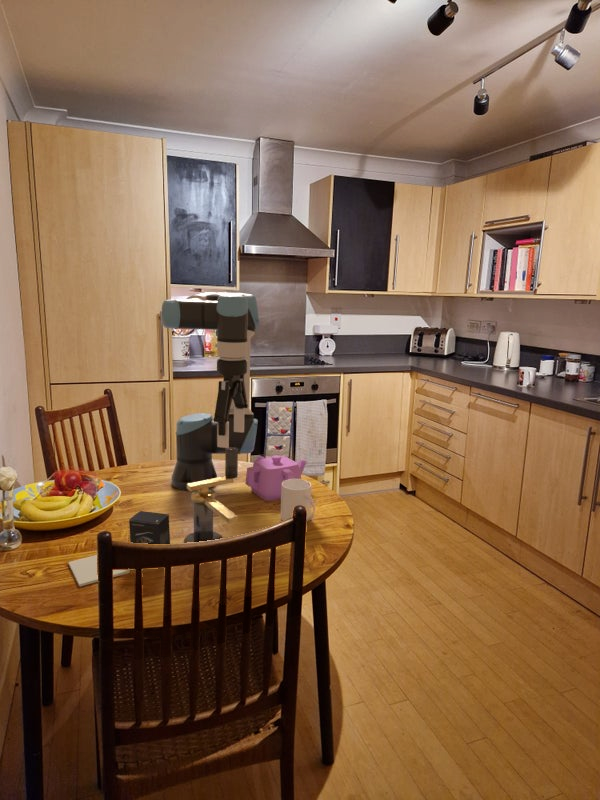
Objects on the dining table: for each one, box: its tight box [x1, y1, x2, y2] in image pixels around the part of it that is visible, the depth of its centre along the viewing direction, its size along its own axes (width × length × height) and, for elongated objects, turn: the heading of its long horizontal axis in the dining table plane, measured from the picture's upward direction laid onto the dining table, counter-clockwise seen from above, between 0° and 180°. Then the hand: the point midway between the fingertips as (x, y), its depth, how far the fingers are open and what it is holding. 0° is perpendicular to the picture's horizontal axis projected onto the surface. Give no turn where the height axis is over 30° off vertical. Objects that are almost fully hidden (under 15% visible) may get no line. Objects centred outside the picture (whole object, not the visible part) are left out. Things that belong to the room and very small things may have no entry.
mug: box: [280, 478, 316, 522], centre depth 148 cm, size 9×12×11 cm
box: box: [128, 510, 171, 545], centre depth 125 cm, size 8×6×11 cm
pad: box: [68, 554, 131, 588], centre depth 120 cm, size 11×11×1 cm
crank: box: [187, 447, 239, 524], centre depth 127 cm, size 14×19×12 cm
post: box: [183, 501, 224, 544], centre depth 133 cm, size 10×10×12 cm
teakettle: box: [245, 455, 307, 502], centre depth 168 cm, size 17×17×12 cm
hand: (231, 439), depth 134 cm, fingers open, 13 cm apart
